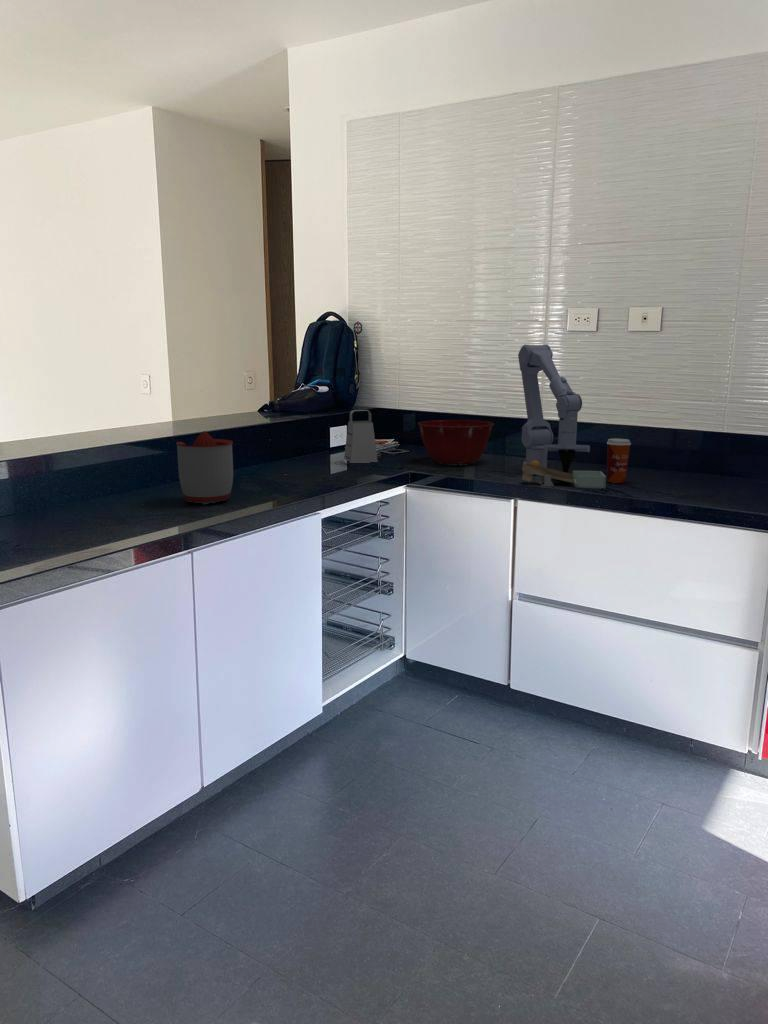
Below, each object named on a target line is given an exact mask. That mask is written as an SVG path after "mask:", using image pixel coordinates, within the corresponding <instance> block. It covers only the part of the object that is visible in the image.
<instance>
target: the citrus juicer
mask: <svg viewBox="0 0 768 1024" xmlns="http://www.w3.org/2000/svg"><path fill="white" fill-rule="evenodd" d="M175 444H176V450H177V466H178V467H177V468H178V469H177V470H178V478H179V484H180V488H181V491H182V495H183V496H184V499H185V500H188V501H192V502H209V501H219V500H223V499H227V498H230V496H231V492H232V488H233V483H234V459H233V458H234V457H233V444H234V441H233V440H230V439H222V438H213V437H212V436H211V435H210V434H209V433H208V432H207V431H202V432H201V433H200V434H198V436H197V437H196V438H195V440H194V441H193V443H192V445H186V443H185V442H183V441H176V443H175Z"/></svg>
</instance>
